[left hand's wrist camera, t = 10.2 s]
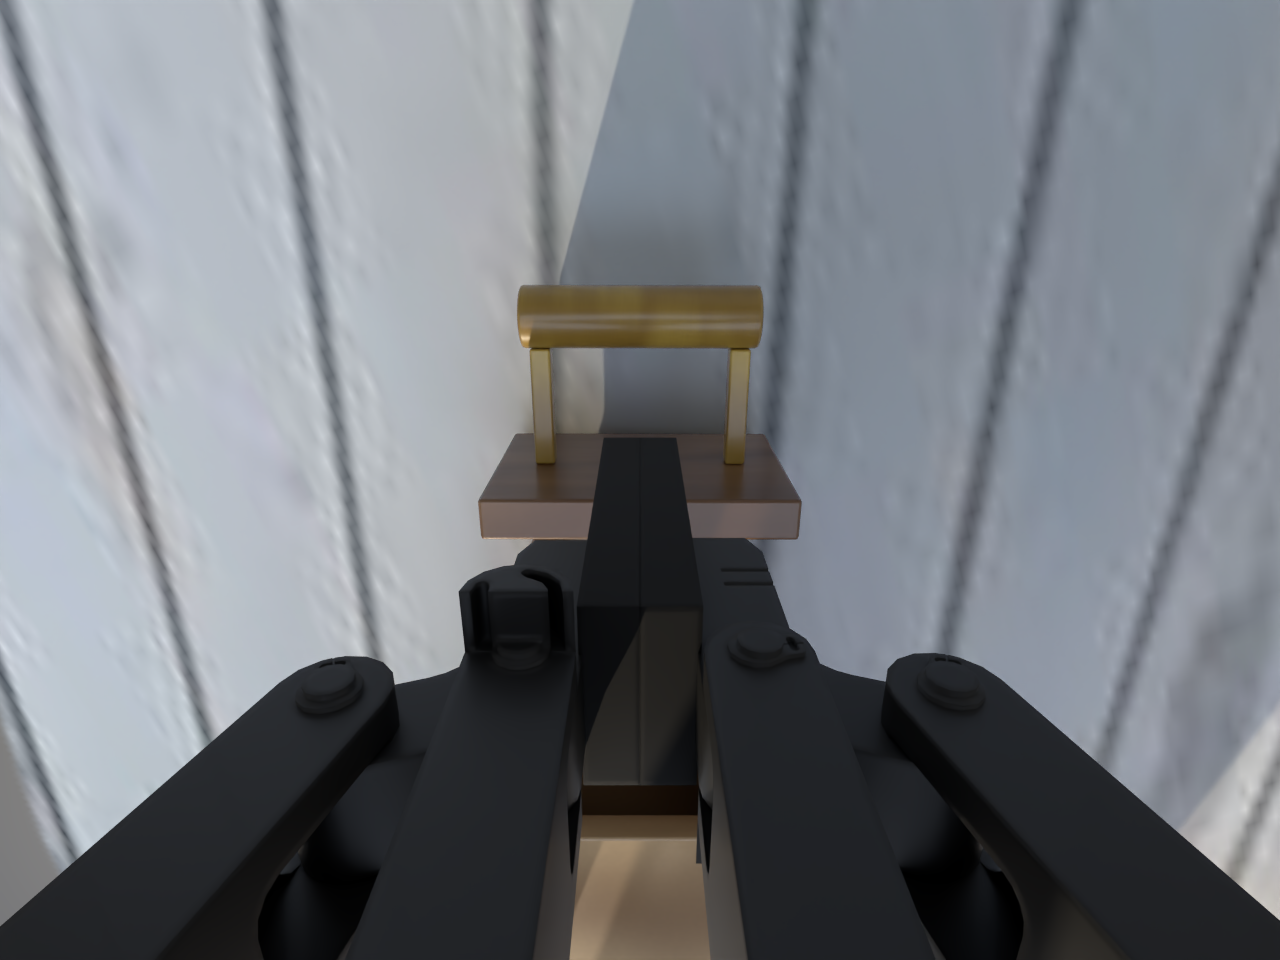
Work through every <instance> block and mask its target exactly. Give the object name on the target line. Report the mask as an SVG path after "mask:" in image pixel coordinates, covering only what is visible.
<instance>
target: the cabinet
mask: <svg viewBox="0 0 1280 960" xmlns="http://www.w3.org/2000/svg"><path fill="white" fill-rule="evenodd" d="M697 822H698V815H582V828H581V839H580V850H579V861H578V872H577V883H576V894H575V905H574V916H573V927H572V938H571V949H570V960H711V959H710V948H709V937H708V926H707V915H706V904H705V893H704V882H703V871H702V864H696V847H697Z"/></svg>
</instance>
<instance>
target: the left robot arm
mask: <svg viewBox="0 0 1280 960" xmlns="http://www.w3.org/2000/svg"><path fill="white" fill-rule="evenodd" d="M459 599H460V608H461V617H462V627H463V636H464V645H465V654H464V656H463V659H462V661H461V664H460V667H458V668H456V669H454V670H451V671H449V672H447V673H444V674H441V675H437V676H433V677H430V678H426V679H421V680H416V681H411V682H406V683H401V684H397V685H395V684H394V678H393V672H392V671H391V670H390V669H389V668H388V667H387V666H386V665H385V664H384V663H383V662H381V661H378V660H375V659H372V658H369V657H355V656H344V657H337V658H334V659H332V658H331V659H327V660H323V661H320V662H317V663H315V664H312V665H310V666H307V667H305V668H302V669H300V670H298V671H296V672H295V673H293V674H292V675H290V676H289V677H287V678H286V679H284V680H283V681H281V682H280V683H279V684H278V685H276V686H275V687H274V688H273V689H272V690H271V691H270V692H268V693H267V694H266V695H265V696H264V697H263V698H262V699H260V700H259V701H258V702H257V703H256V704H255V705H253V706H252V707H251V708H250V709H249V710H248V711H247V712H245V713H244V714H243V715H242V716H241V717H240V718H239V719H237V720H236V721H235V722H234V723H233V724H232V725H231V726H229V727H228V728H227V729H226V730H225V731H224V732H223V733H221V734H220V735H219V736H218V737H217V738H216V739H215V740H213V741H212V742H211V743H210V744H209V745H208V746H207V747H205V748H204V749H203V750H202V751H201V752H200V753H198V754H197V755H196V756H195V757H194V758H193V759H192V760H190V761H189V762H188V763H187V764H186V765H185V766H184V767H182V768H181V769H180V770H179V771H178V772H177V773H176V774H174V775H173V776H172V777H171V778H170V779H169V780H168V781H166V782H165V783H164V784H163V785H162V786H161V787H160V788H158V789H157V790H156V791H155V792H154V793H153V794H152V795H150V796H149V797H148V798H147V799H146V800H145V801H143V802H142V803H141V804H140V805H139V806H138V807H137V808H135V809H134V810H133V811H132V812H131V813H130V814H129V815H127V816H126V817H125V818H124V819H123V820H122V821H121V822H119V823H118V824H117V825H116V826H115V827H114V828H113V829H111V830H110V831H109V832H108V833H107V834H106V835H105V836H103V837H102V838H101V839H100V840H99V841H98V842H97V843H95V844H94V845H93V846H92V847H91V848H90V849H88V850H87V851H86V852H85V853H84V854H83V855H82V856H80V857H79V858H78V859H77V860H76V861H75V862H74V863H72V864H71V865H70V866H69V867H68V868H67V869H66V870H64V871H63V872H62V873H61V874H60V875H59V876H58V877H56V878H55V879H54V880H53V881H52V882H51V883H50V884H48V885H47V886H46V887H45V888H44V889H43V890H42V891H40V892H39V893H38V894H37V895H36V896H35V897H34V898H32V899H31V900H30V901H29V902H28V903H27V904H26V905H24V906H23V907H22V908H21V909H20V910H19V911H17V912H16V913H15V914H14V915H13V916H12V917H11V918H9V919H8V920H7V921H6V922H5V923H4V924H3V925H1V926H0V960H570V949H571V938H572V927H573V916H574V905H575V894H576V883H577V872H578V861H579V850H580V839H581V828H582V797H581V784H582V775H583V785H697V771H698V781H699V797H698V822H697V847H696V864H702V871H703V882H704V893H705V904H706V915H707V926H708V937H709V948H710V959H711V960H1280V920H1278V919H1277V918H1276V917H1275V916H1274V915H1273V914H1272V913H1270V912H1269V911H1268V910H1267V909H1266V908H1265V907H1263V906H1262V905H1261V904H1260V903H1259V902H1258V901H1257V900H1255V899H1254V898H1253V897H1252V896H1251V895H1250V894H1248V893H1247V892H1246V891H1245V890H1244V889H1243V888H1242V887H1240V886H1239V885H1238V884H1237V883H1236V882H1235V881H1233V880H1232V879H1231V878H1230V877H1229V876H1228V875H1226V874H1225V873H1224V872H1223V871H1222V870H1221V869H1220V868H1218V867H1217V866H1216V865H1215V864H1214V863H1213V862H1211V861H1210V860H1209V859H1208V858H1207V857H1206V856H1205V855H1203V854H1202V853H1201V852H1200V851H1199V850H1198V849H1196V848H1195V847H1194V846H1193V845H1192V844H1191V843H1190V842H1188V841H1187V840H1186V839H1185V838H1184V837H1183V836H1181V835H1180V834H1179V833H1178V832H1177V831H1176V830H1174V829H1173V828H1172V827H1171V826H1170V825H1169V824H1168V823H1166V822H1165V821H1164V820H1163V819H1162V818H1161V817H1159V816H1158V815H1157V814H1156V813H1155V812H1154V811H1153V810H1151V809H1150V808H1149V807H1148V806H1147V805H1146V804H1144V803H1143V802H1142V801H1141V800H1140V799H1139V798H1138V797H1136V796H1135V795H1134V794H1133V793H1132V792H1131V791H1129V790H1128V789H1127V788H1126V787H1125V786H1124V785H1122V784H1121V783H1120V782H1119V781H1118V780H1117V779H1116V778H1114V777H1113V776H1112V775H1111V774H1110V773H1109V772H1107V771H1106V770H1105V769H1104V768H1103V767H1102V766H1101V765H1099V764H1098V763H1097V762H1096V761H1095V760H1094V759H1092V758H1091V757H1090V756H1089V755H1088V754H1087V753H1086V752H1084V751H1083V750H1082V749H1081V748H1080V747H1079V746H1077V745H1076V744H1075V743H1074V742H1073V741H1072V740H1071V739H1069V738H1068V737H1067V736H1066V735H1065V734H1064V733H1062V732H1061V731H1060V730H1059V729H1058V728H1057V727H1055V726H1054V725H1053V724H1052V723H1051V722H1050V721H1049V720H1047V719H1046V718H1045V717H1044V716H1043V715H1042V714H1040V713H1039V712H1038V711H1037V710H1036V709H1035V708H1034V707H1032V706H1031V705H1030V704H1029V703H1028V702H1027V701H1025V700H1024V699H1023V698H1022V697H1021V696H1020V695H1019V694H1017V693H1016V692H1015V691H1014V690H1013V689H1012V688H1010V687H1009V686H1008V685H1007V684H1006V683H1005V682H1003V681H1002V680H1001V679H1000V678H998V677H997V676H995V675H994V674H992V673H991V672H989V671H988V670H986V669H985V668H983V667H981V666H979V665H976V664H974V663H971V662H969V661H966V660H964V659H961V658H959V657H955V656H951V655H945V654H937V653H920V654H911V655H908V656H905V657H902V658H899V659H897V660H896V661H895V662H894V663H893V664H892V665H891V666H890V667H889V668H888V671H887V678H886V682H884V681H879V680H874V679H869V678H864V677H859V676H854V675H850V674H847V673H843V672H839V671H836V670H833V669H831V668H829V667H826V666H824V665H822V664H820V663H819V660H818V658H817V655H816V653H815V651H814V649H813V648H812V647H811V645H810V644H809V642H808V641H807V640H806V639H805V638H804V637H802V636H801V635H799V634H797V633H796V632H794V631H793V630H791V629H790V628H789V626H788V623H787V620H786V617H785V614H784V612H783V609H782V606H781V603H780V600H779V598H778V595H777V592H776V589H775V586H773V581H772V578H771V575H770V573H769V572H768V567H767V564H766V561H765V559H764V556H763V553H762V551H760V550H759V549H758V548H757V547H755V546H754V545H753V544H752V543H750V542H749V541H748V540H747V539H746V538H692V532H691V526H690V520H689V514H688V507H687V501H686V495H685V489H684V482H683V476H682V470H681V464H680V457H679V451H678V445H677V439H676V438H604V439H603V445H602V451H601V457H600V464H599V470H598V476H597V482H596V489H595V495H594V501H593V507H592V514H591V520H590V526H589V532H588V538H587V540H535V541H534V542H532V543H531V544H530V545H529V546H528V547H526V548H525V549H524V550H523V551H521V552H520V553H519V554H518V556H517V559H516V561H515V564H514V565H512V566H503V567H499V568H496V569H492V570H489V571H485V572H483V573H481V574H479V575H477V576H476V577H474V578H472V579H470V580H468V581H467V583H466V584H465V585H464V586H463V587H462V588H461V590H460V591H459Z"/></svg>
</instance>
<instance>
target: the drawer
mask: <svg viewBox="0 0 1280 960" xmlns="http://www.w3.org/2000/svg"><path fill="white" fill-rule="evenodd" d="M517 322H518V332H519V338H520V341H521V344H522V346H523V347H525V348H531V349H530V368H531V386H532V404H533V422H534V434H516V435H515V436H514V438H513V440H512V442H511V443H510V445H509V447H508V449H507V451H506V452H505V454H504V456H503V458H502V460H501V461H500V463H499V465H498V467H497V468H496V470H495V472H494V474H493V476H492V477H491V479H490V481H489V483H488V485H487V486H486V488H485V490H484V492H483V493H482V495H481V497H480V499H479V501H478V505H479V516H480V528H481V536H482V538H483V539H533V540H532V542H534V541H535V540H587V538H588V532H589V526H590V520H591V514H592V507H593V501H594V495H595V489H596V482H597V476H598V470H599V464H600V457H601V451H602V445H603V439H604V438H676V439H677V445H678V451H679V457H680V464H681V470H682V476H683V482H684V489H685V495H686V501H687V507H688V514H689V520H690V526H691V532H692V538H746V539H797V538H798V536H799V526H800V515H801V505H802V502H801V499H800V498H799V496H798V494H797V492H796V490H795V489H794V487H793V485H792V483H791V482H790V480H789V478H788V476H787V474H786V473H785V471H784V469H783V467H782V465H781V464H780V462H779V460H778V458H777V456H776V455H775V453H774V451H773V449H772V447H771V446H770V444H769V442H768V440H767V439H766V437H765V435H763V434H746V425H747V408H748V391H749V374H750V357H751V351H750V349H749V348H757V347H758V345H759V343H760V340H761V335H762V328H763V295H762V291H761V288H760V287H759V286H757V285H523V286H521V287H520V289H519V293H518V300H517ZM552 348H728V364H727V385H726V406H725V428H724V434H556V425H555V402H554V379H553V356H552ZM581 797H582V815H698V797H699V781H698V771H697V785H583V775H582V784H581Z"/></svg>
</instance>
